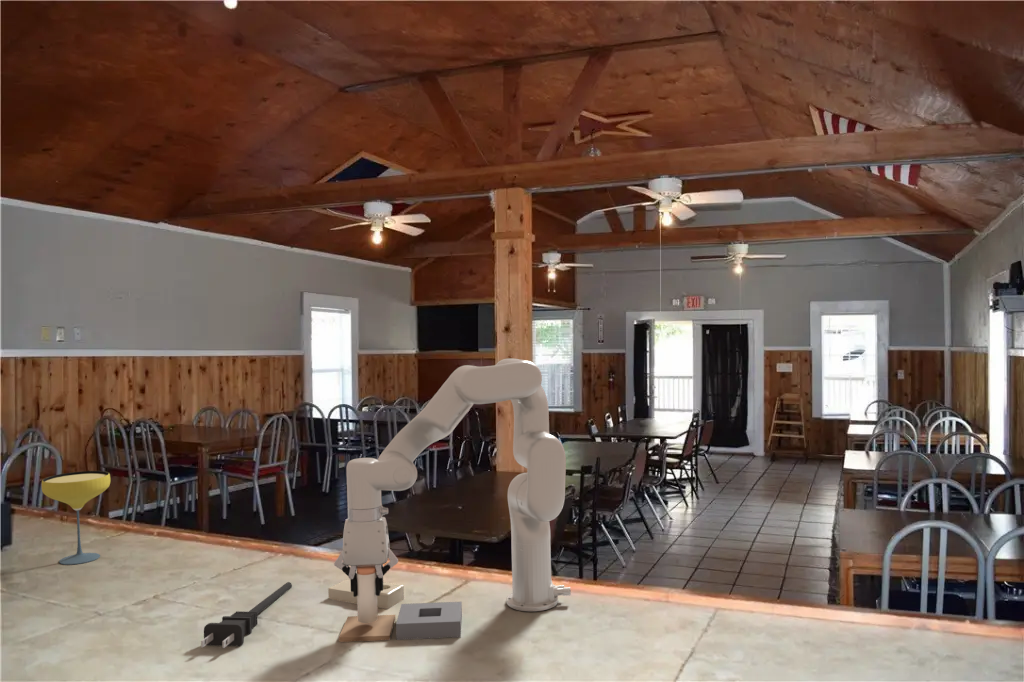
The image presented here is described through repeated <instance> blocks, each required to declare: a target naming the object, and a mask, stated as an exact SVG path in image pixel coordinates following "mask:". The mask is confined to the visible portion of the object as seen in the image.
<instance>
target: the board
mask: <svg viewBox="0 0 1024 682" xmlns="http://www.w3.org/2000/svg"><path fill="white" fill-rule="evenodd" d="M394 622H396V614H378V619H377V620H376V621H374V622H370V623H361V622H359V621H358V615H355V616H347V618H346V620H345V622H344V625H343V627H342V629H341V632H340V633H339V635H338V642H339V643H345V642H346V643H347V642H348V643H349V642H371V641H373V642H374V641H375V642H376V641H390V640H391V638H392V637H391V636H392V633H393V629H394V626H395V623H394Z"/></svg>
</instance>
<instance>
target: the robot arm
mask: <svg viewBox="0 0 1024 682" xmlns="http://www.w3.org/2000/svg"><path fill="white" fill-rule="evenodd" d="M542 383H543V374H542V372H541V369H540V368H539V366H537V364H535V363H533V362H532V361H531V360H525V359H518V358H503V359H501V360H499V361H498V362H497V363H496V364H494V365H487V366H478V365H477V366H475V365H471V364H469V365H468V364H467V365H461V366H459V367H457V368H456V369H455V370H454V371H453V372H452V373H451V374H450V375H449V376H448V378H447V379H446V380H445V382H444V383H443V384H442V385H441V387H440V388H439V389H438V390H437V392H436V393H434V395H433V396H432V398H431V399H430V400H429V401H428V403H427V404H426V406H424V407H423V409H422V410H421V411H420V412H419V413H418V414H416V415H415V417H413V418H412V419H411V420H410V421H409V422H408V423H407V424H406V425H405V426H404V427H402V428H401V429H400V430H399V431H398V432H397V433H396V435H394V437H393V438H392V440H390V442H389V443H388V445H387V446H386V447H385V448H384V449H383V450H382V452H381V454H380V455H378V458H373V457H360V458H354V459H351V460H349V461H348V462H347V465H346V496H347V499H346V500H347V518H346V519H345V521H344V528H343V534H342V551H341V552H340V553H339V555H338V557H337V558H336V560H335V561H334V563H333V565H334V566H335V567H336V568H338V569H339V570H340V571H341V572H343V573H344V574H345V575H346V576H347V577H348V580H350V583H351V592H353V596H354V597H356V596H357V566H364V565H375V568H376V571H377V577H376V595H377V596H379V595H380V592H381V591H383V582H384V576H385V575H386V574H387V573H388V572H389V571H390V569H392V568H393V567H394V566H396V565H397V564H398V562H399V559H398V557H397V556H396V555H395V553H394V552H393V550H392V549H390V539H389V528H388V523H387V519H386V517H385V515H388V514H389V508H388V507H385V506H383V504H382V491H391V492H392V491H394V492H401V491H406V490H408V489H410V488H412V487H413V485H415V483H416V480H417V479H418V470H417V466H416V465H415V464H414V461H416V458H418V456H419V455H420V454H421V453H422V452H423V451H424V450H426V448H428V447H429V446H430V445H432V444H433V443H436V442H438V441H439V440H442V439H444V438H446V437H448V436H450V434H452V433H453V431H454V430H455V428H456V427H457V426H458V425H459V423H460V422H461V421H462V420H463V419H464V418H465V416H466V415H467V414H468V412H469V411H470V409H471V408H472V407H473V406H474V405H485V404H494V403H501V402H506V401H510V402H511V405H512V408H513V409H512V410H513V443H512V453H513V459H514V460H515V461H516V463H517V464H518V465H519V466H521V467H523V468H525V469H527V470H526V471H527V472H522V473H519V474H518V475H516V476H514V478H513V479H512V480H511V481H510V483H509V486H508V488H507V504H508V505H507V506H508V511H509V519H510V531H511V532H510V534H511V538H510V539H511V578H512V585H511V587H512V592H511V593H509V594H508V595H507V597H506V604H507V606H508V607H509V608H511V609H514V610H517V611H520V612H521V611H522V612H542V611H546V610H550V609H553V608H554V607H556V606H557V604H558V603H559V596H566V597H567V596H571V595H572V594H571V593H572V592H571V590H572V589H571V586H569V587H568V586H567V587H566V586H565V585H564V584H562V585H561V584H559V585H555V584H554V583H553V580H552V560H551V557H552V556H551V553H552V552H551V550H552V549H551V526H550V521H553V520H555V519H557V517H558V516H559V515H560V514H561V512H562V510H563V508H564V505H565V498H566V475H567V473H566V472H567V469H566V467H567V458H566V457H567V455H566V451H565V448H564V446H563V444H562V442H561V441H560V439H558V438H557V437H556V436H554V435H552V434H550V420H549V419H550V416H549V415H550V413H549V411H550V410H549V402H548V398H547V394H546V392H545V390H544V388H543V386H542ZM388 559H389V561H388Z"/></svg>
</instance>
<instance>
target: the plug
mask: <svg viewBox="0 0 1024 682" xmlns="http://www.w3.org/2000/svg"><path fill="white" fill-rule="evenodd" d="M356 573H357V616H358V621H359V622H361V623H370V622H374V621H376V620H377V619H378V615H379V614H378V607H377V595H376V577H377V571H376V568H375V565H364V566H357V570H356Z"/></svg>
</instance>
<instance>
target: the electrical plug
mask: <svg viewBox="0 0 1024 682" xmlns="http://www.w3.org/2000/svg"><path fill="white" fill-rule="evenodd" d="M292 587H293V584H292V582H289V581H288V582H286V583H284V584H282V585H281V586H280V587H279V588H277V589H276V590H275V591H274V592H272V593H271V594H269V596H267V597H266V598H264V599H263V600H262V601H261V602H259V603H258V604H256V605H255V606H254V607H252V608H251V609H250V610H248V611H239V610H237V611H235V612H234V613H232V614H231V615H224V616H222V617H221V621H220V622H208V623H207V624H205V626H204V627H203V639H201V641H200V648H204V647H206V646H207V647H211V646H213V647H216V646H217V647H222V649H225V648H227V647H241V646H243V645H244V639H245V638H244V637H245V636H246V635H251V634H252V633H253V631H252V629H253V628H255V627H256V626H257V625H258V615H259V614H260V613H261V612H263V610H265V609H266V608H268V607H269V606H271V604H272V603H274V602H275V601H277V600H278V599H280V597H281V596H282V595H283V596H284V594H286V592H288V591H289V590H290V589H292Z"/></svg>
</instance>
